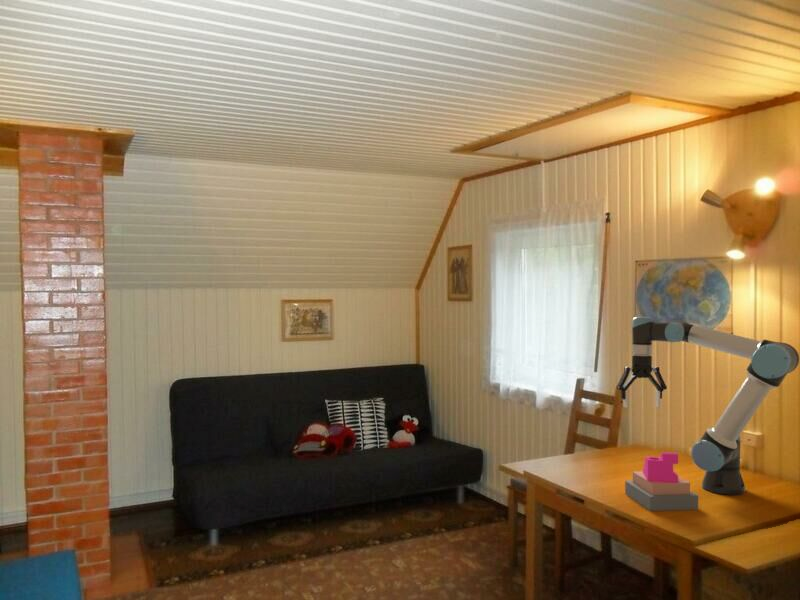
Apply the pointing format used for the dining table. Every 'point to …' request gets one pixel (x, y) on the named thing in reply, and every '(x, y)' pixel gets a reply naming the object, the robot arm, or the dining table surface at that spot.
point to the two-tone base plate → (661, 494)
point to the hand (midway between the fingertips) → (641, 407)
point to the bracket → (661, 468)
